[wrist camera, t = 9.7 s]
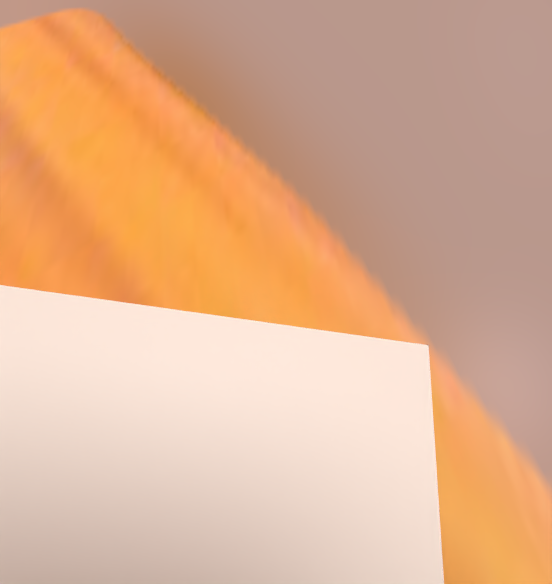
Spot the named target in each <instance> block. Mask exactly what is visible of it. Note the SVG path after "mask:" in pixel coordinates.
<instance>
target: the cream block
mask: <svg viewBox="0 0 552 584" xmlns="http://www.w3.org/2000/svg"><path fill="white" fill-rule="evenodd" d="M0 584H444V576H443V561H442V546H441V531H440V515H439V500H438V485H437V469H436V454H435V439H434V424H433V408H432V393H431V378H430V362H429V347H428V345H423V344H416V343H409V342H401V341H394V340H387V339H380V338H373V337H366V336H359V335H352V334H345V333H337V332H330V331H323V330H316V329H309V328H302V327H295V326H288V325H280V324H273V323H266V322H259V321H252V320H245V319H238V318H231V317H223V316H216V315H209V314H202V313H195V312H188V311H181V310H174V309H167V308H159V307H152V306H145V305H138V304H131V303H124V302H117V301H110V300H102V299H95V298H88V297H81V296H74V295H67V294H60V293H53V292H45V291H38V290H31V289H24V288H17V287H10V286H3V285H0Z"/></svg>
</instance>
